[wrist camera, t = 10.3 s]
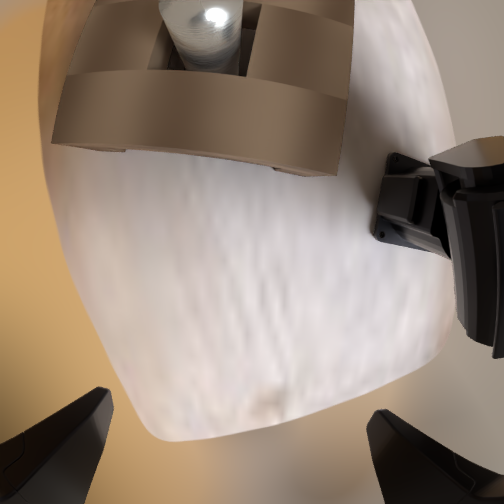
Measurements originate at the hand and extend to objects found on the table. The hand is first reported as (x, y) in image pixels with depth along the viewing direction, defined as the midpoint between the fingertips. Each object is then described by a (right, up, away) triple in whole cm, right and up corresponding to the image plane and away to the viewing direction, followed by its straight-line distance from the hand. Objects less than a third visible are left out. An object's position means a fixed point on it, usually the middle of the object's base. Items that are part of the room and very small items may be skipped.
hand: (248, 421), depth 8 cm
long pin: (-2, +17, +8) cm, 19 cm away
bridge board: (-2, +17, +8) cm, 19 cm away
